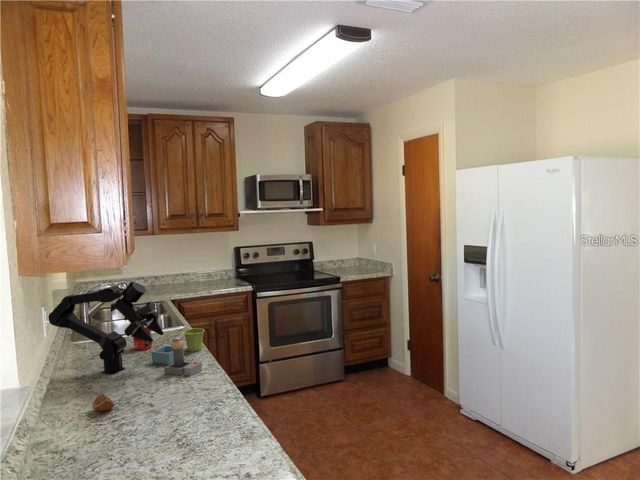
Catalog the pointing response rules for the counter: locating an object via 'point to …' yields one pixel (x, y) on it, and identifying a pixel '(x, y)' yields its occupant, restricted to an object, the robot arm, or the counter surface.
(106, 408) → the brown lump
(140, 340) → the canned food
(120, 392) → the counter surface
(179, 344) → the battery cell
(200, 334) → the plant pot
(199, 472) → the counter surface
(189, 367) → the tester
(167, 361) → the bin
